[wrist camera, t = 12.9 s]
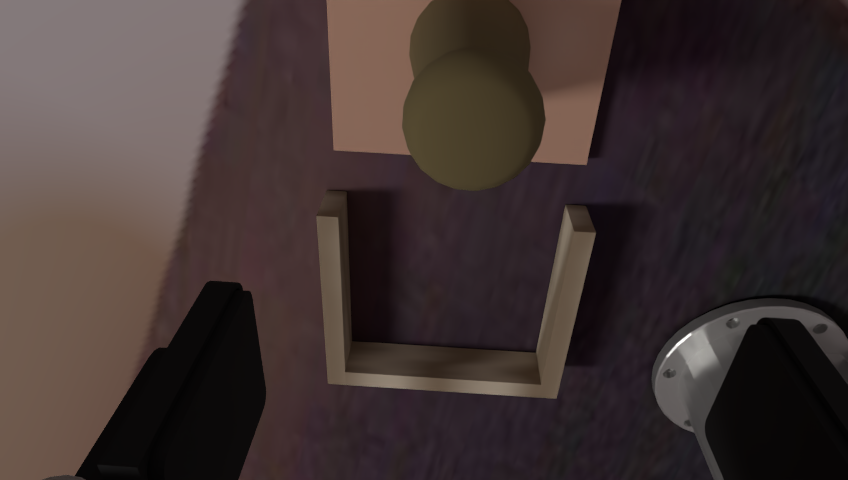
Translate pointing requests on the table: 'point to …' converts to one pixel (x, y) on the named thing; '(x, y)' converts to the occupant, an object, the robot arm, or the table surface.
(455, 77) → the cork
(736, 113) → the table surface
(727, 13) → the table surface
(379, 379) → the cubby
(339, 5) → the tile
